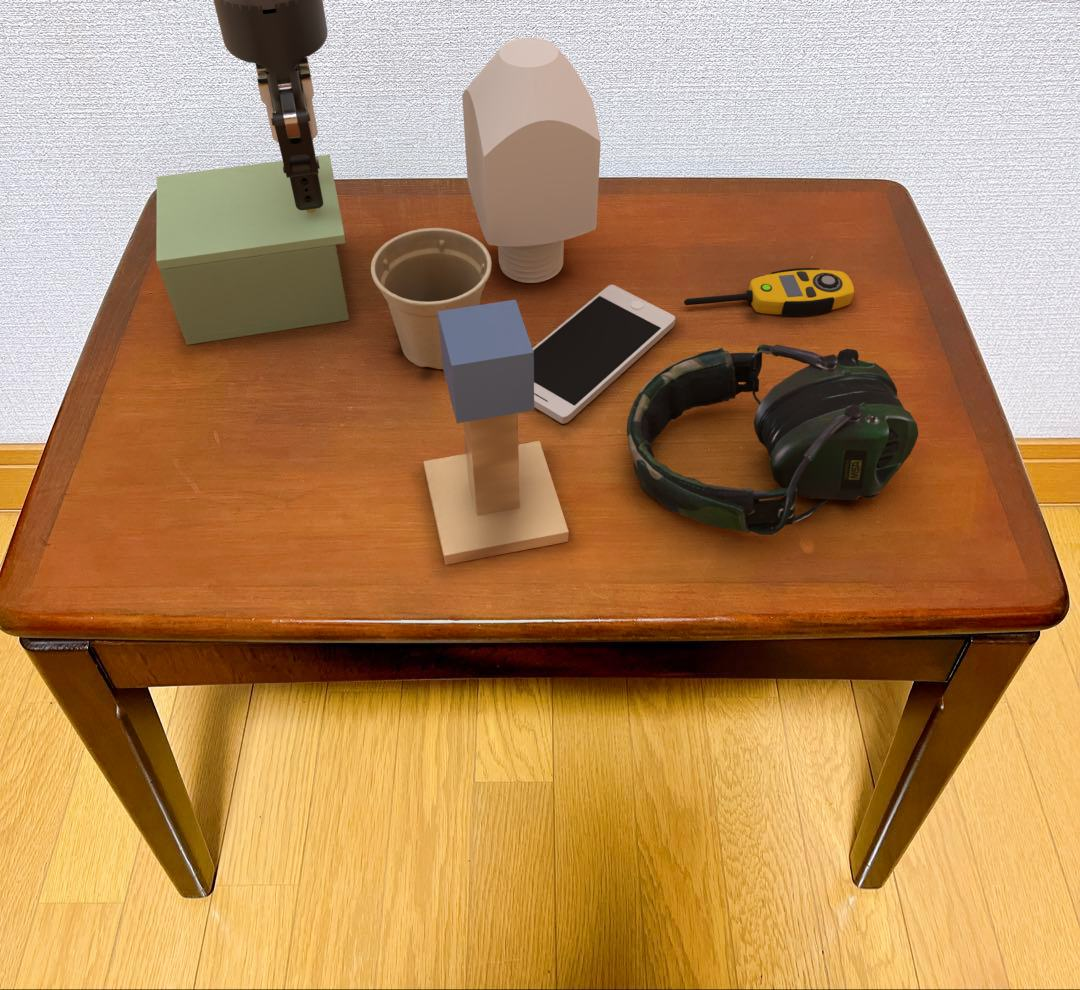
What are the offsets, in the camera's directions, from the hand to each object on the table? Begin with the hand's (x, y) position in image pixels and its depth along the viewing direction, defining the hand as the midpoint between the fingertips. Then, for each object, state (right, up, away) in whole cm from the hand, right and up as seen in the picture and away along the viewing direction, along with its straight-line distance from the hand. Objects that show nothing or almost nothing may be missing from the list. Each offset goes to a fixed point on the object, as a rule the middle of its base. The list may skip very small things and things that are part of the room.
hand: (307, 187), depth 84 cm
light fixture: (+18, -4, +9) cm, 21 cm away
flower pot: (+11, -13, +2) cm, 17 cm away
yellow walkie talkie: (+39, -9, +6) cm, 41 cm away
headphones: (+36, -24, -7) cm, 44 cm away
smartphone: (+23, -14, +1) cm, 27 cm away
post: (+16, -26, -9) cm, 32 cm away
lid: (-5, -2, +1) cm, 5 cm away
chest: (-5, -7, +7) cm, 11 cm away
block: (+16, -19, -18) cm, 31 cm away
